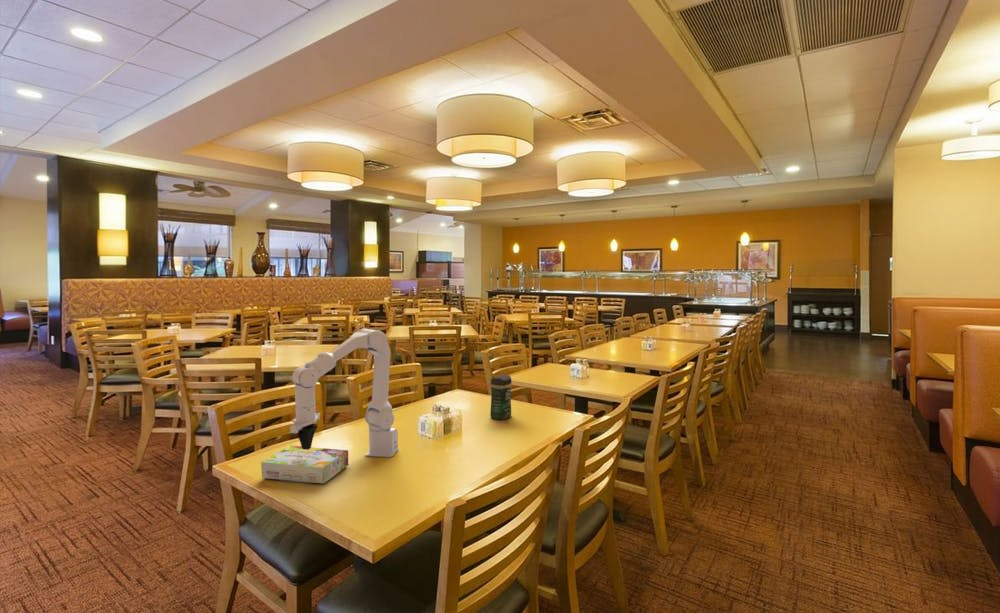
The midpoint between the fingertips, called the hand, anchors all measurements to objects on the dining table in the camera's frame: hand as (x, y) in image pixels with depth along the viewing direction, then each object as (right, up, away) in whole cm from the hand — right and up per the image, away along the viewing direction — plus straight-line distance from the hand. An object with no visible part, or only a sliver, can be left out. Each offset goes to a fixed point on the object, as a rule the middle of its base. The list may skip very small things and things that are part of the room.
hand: (306, 448), depth 151 cm
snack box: (+1, -5, +9) cm, 11 cm away
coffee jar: (+61, -5, +62) cm, 87 cm away
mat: (+1, -8, +2) cm, 9 cm away
